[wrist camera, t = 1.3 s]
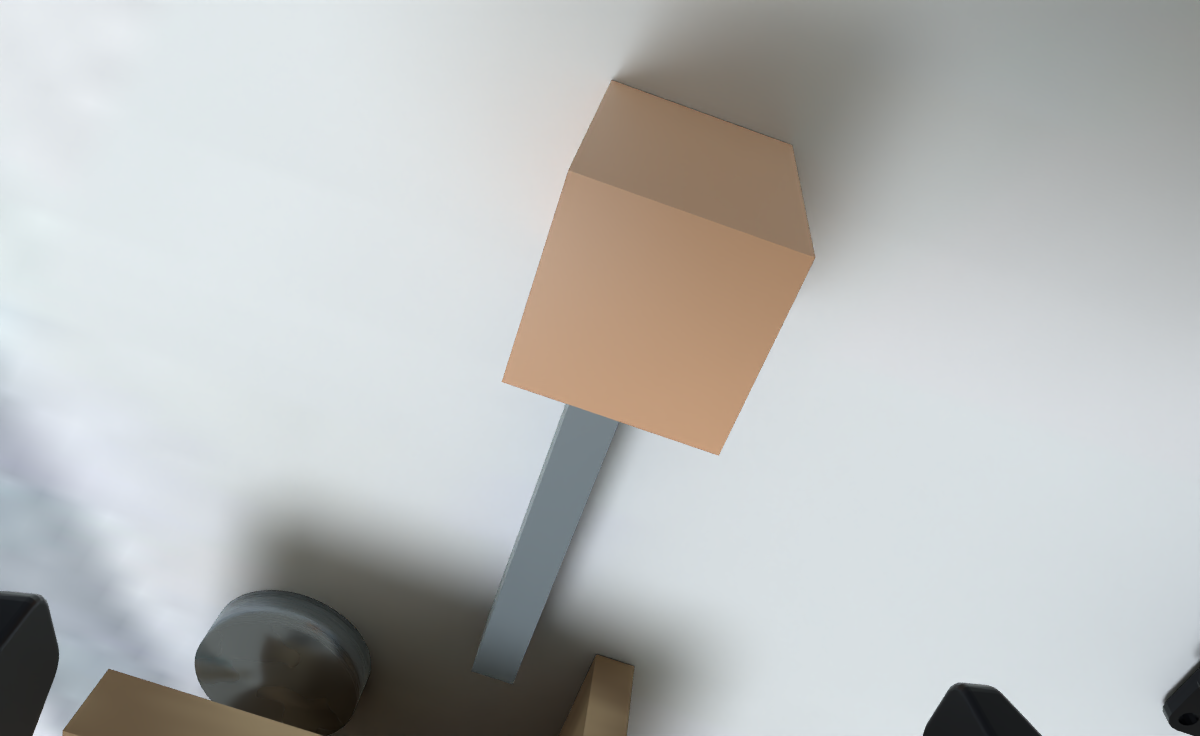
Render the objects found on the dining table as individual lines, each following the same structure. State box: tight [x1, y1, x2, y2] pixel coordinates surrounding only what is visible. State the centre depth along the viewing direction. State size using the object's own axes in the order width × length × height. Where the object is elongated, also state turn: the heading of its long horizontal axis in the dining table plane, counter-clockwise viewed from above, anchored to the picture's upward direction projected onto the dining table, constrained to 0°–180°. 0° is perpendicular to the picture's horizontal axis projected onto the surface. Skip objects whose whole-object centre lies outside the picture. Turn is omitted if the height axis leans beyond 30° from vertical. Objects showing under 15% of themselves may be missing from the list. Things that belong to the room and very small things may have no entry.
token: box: [195, 590, 371, 736], centre depth 29 cm, size 5×5×2 cm
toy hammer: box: [472, 80, 815, 684], centre depth 21 cm, size 4×16×6 cm, turn 162°
